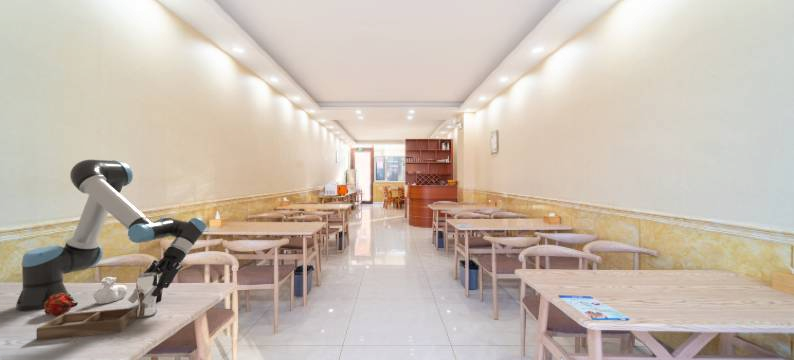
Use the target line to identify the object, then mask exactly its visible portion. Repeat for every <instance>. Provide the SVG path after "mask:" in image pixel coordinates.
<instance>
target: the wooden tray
mask: <svg viewBox="0 0 794 360" xmlns="http://www.w3.org/2000/svg"><path fill="white" fill-rule="evenodd" d="M137 314H138V307H127V308H115V309H104V310H94V311H92V310H91V311H81V312H71V313H69V312H68V313H62V314H61V315H60V316H56V317H55V318H53V319H51V320H50V321H48V322H46V323H45V324H42V325H39V327H37V328H36V341H37V342H39V341H40V342H41V341H48V340H49V341H50V340H57V339H59V340H60V339H66V338H75V337H86V336H95V335H96V336H97V334H98V335H104V334H105V335H106V334H115V333H121V332H122V331H124V330H125V329H126V328H127V327H128V326H130V325H131V324H132V323H133V322H134V321H136V320H137V319H138V315H137ZM124 328H125V329H124Z"/></svg>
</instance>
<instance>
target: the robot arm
mask: <svg viewBox="0 0 794 360" xmlns="http://www.w3.org/2000/svg"><path fill="white" fill-rule="evenodd" d="M69 176H70V180H71V183H72V184H73V186H74V187H75V188H76V189H77V190H78V191H80V192H81V193H82V194H87V195H88V197H87V200H86V202H85V204H84V208H83V210H82V212H81V215H80V219H79V221H78V223H77V225H76V228H75V231H74V233H73V236H72V237H70V238H69V237H68V239H67V240H66V243H65V244H64V246H61V245H48V246H43V247H38V248H33V249H31V250H29V251H27V252H25V253H24V254H23V256H22V260H21V261H22V262H21V267H22V273H21V274H22V290H21V291H20V294H19V296H18V299H17V302H16V304H15V309H16V311H23V312H24V311H36V310H41V309H42V310H43V309H45V308H44V303H45V302H46V300H48V299H49V298H50V297H51V296H52V295H53V294H57V293H64V294H69V292H68V290H67V288H66V286H65V284H64V275H65V274H70V273H73V272H76V271H81V270H86V269H90V268H91V267H94V266H96V265H97V264H99V262H100V261H101V260H102V258H103V255H104V254H103V253H104V252H103V251H102V250H103V247H102V246H101V243H100V241H99V240H98V239H99V237H100V234H101V232H102V229H103V227H104V224H105V222H106V220H107V216H108V213H109V214H110V215H111V216H113V217H114V219H116V220H117V221H118V222H119V223H120V224H122V225H123V226H124V227H125V228H126V229H127V237H128V238H129V240H130V241H131V242H133V243H135V244H139V243H140V244H141V243H147V242H150V241H155V240H158V239H159V240H160V239H164V238H170V237H172V238H174V239H173V241H172V242H171V243H170V244H169V246H168V247H167V248H166V250H165V251H164V252H163V254H162V255H163V257H162V258H161V259H159V260H156V259H154V260H153V261H152V263H150V266H149V267H148V268H147V269H146V270H145V271H144V272H143V273H142V274H145V273H158V275H160V274H161V275H160V276H161V277H160V279H159V281H158V283H157V284H155V285H156V286H157V287H156V286H154V287H153V288H152V289H151V291H150V292H149V293H148V295H147V296H146V297H145V299H144V300H143V301H142V303H144V304H146V305H148V306H149V304H150V303H151V302H152V300H153V299H154V298H155V297H156V296H157V295H158V293H159V292H160V290H161V289H167V288H169V286H170V285H171V283H172V282H173V281H174V279H175V277H176V276H177V274H178V273H179V271H180V270H181V269H182V268H183V265H182V264H180V263H182V262H183V260H184V259H185V258H186V257H187V254H188V253H189V252H190V251H191V250H192V248H193V247H194V246H195V244H196V242H197V241H198V240H199V238H200V237H201V236H202V235H203V234H204V232H205V230H206V229H207V226H208V225H207V224H206V222H205V221H204V220H203V219H201V218H199V217H192V218H191V219H189V221H183V220H181V219H176V218H172V217H166V216H165V217H160V218H159V219H158V220H156V221H151V220H150V218H148V217H147V216H146V215H145V214H144V213H143V212H141V211H140V210H139V209H138V208H137V207H135V206H134V204H132V203H131V202H130V201H129V200H128V199H126V198H125V197H124V196H123V195H122V194H121V192H122V188H123V187H126V186H128V185H130V184H131V183H132V180H133V176H134V174H133V171H132V169H131V167H130V165H128V164H127V163H126V162H125V161H119V160H104V159H103V160H102V159H85V160H82V161H79V162H77V163H76V164H74V166H73V167H72V168H71V170H70V175H69ZM127 301H128V302H130V303H132V304H135V303H136V302H137V301H138V298H137V294H136V288H135V289H134V290H133V292H132V293H131V295H130V296H129V297H128V298H127Z"/></svg>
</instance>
